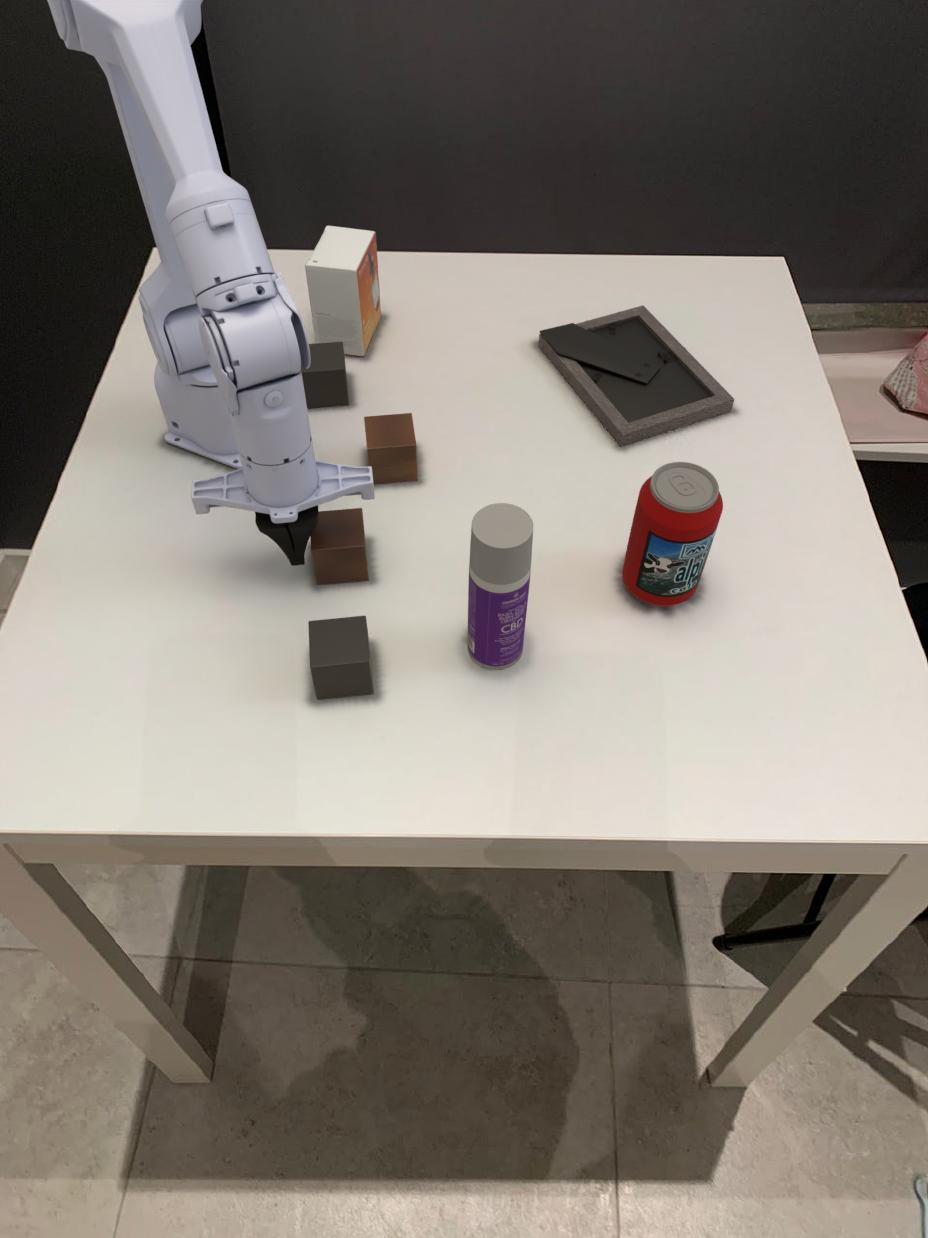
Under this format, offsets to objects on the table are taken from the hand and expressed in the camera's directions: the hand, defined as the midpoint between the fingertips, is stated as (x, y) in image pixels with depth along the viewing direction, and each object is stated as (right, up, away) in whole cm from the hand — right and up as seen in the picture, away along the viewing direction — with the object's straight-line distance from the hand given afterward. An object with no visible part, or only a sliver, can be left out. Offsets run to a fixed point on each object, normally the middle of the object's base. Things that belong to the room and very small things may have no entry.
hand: (297, 556), depth 83 cm
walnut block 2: (+8, +10, +9) cm, 15 cm away
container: (+17, -8, -4) cm, 20 cm away
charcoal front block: (+5, -10, -6) cm, 13 cm away
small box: (+2, +26, +22) cm, 35 cm away
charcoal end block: (0, +18, +16) cm, 24 cm away
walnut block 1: (+4, -1, +1) cm, 4 cm away
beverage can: (+32, -2, +1) cm, 32 cm away
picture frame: (+33, +20, +18) cm, 43 cm away
